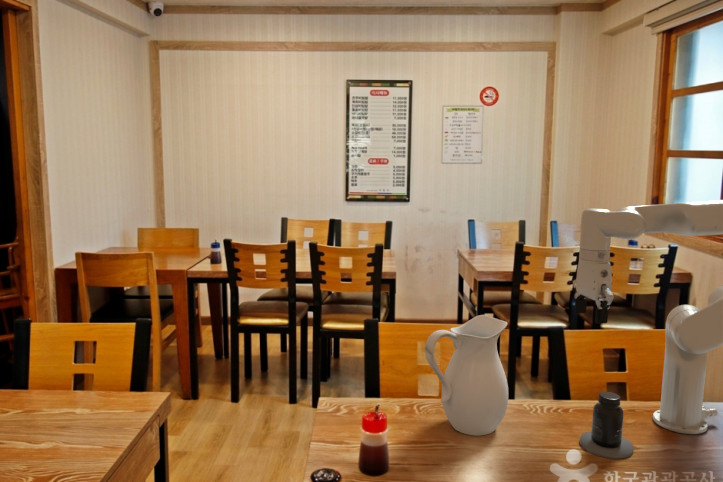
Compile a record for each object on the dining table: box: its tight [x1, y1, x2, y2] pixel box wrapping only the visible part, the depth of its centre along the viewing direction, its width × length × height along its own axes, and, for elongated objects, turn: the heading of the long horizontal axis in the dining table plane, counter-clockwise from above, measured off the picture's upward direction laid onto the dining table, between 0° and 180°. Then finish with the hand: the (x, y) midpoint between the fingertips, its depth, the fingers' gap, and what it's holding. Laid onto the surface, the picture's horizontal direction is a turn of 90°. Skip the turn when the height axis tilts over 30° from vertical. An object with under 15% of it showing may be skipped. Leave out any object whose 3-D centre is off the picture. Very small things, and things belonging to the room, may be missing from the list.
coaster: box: [579, 430, 634, 460], centre depth 141 cm, size 12×12×1 cm
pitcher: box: [424, 314, 509, 437], centre depth 148 cm, size 24×17×28 cm
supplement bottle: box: [591, 391, 625, 448], centre depth 140 cm, size 7×7×12 cm
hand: (590, 317), depth 157 cm, fingers open, 9 cm apart
